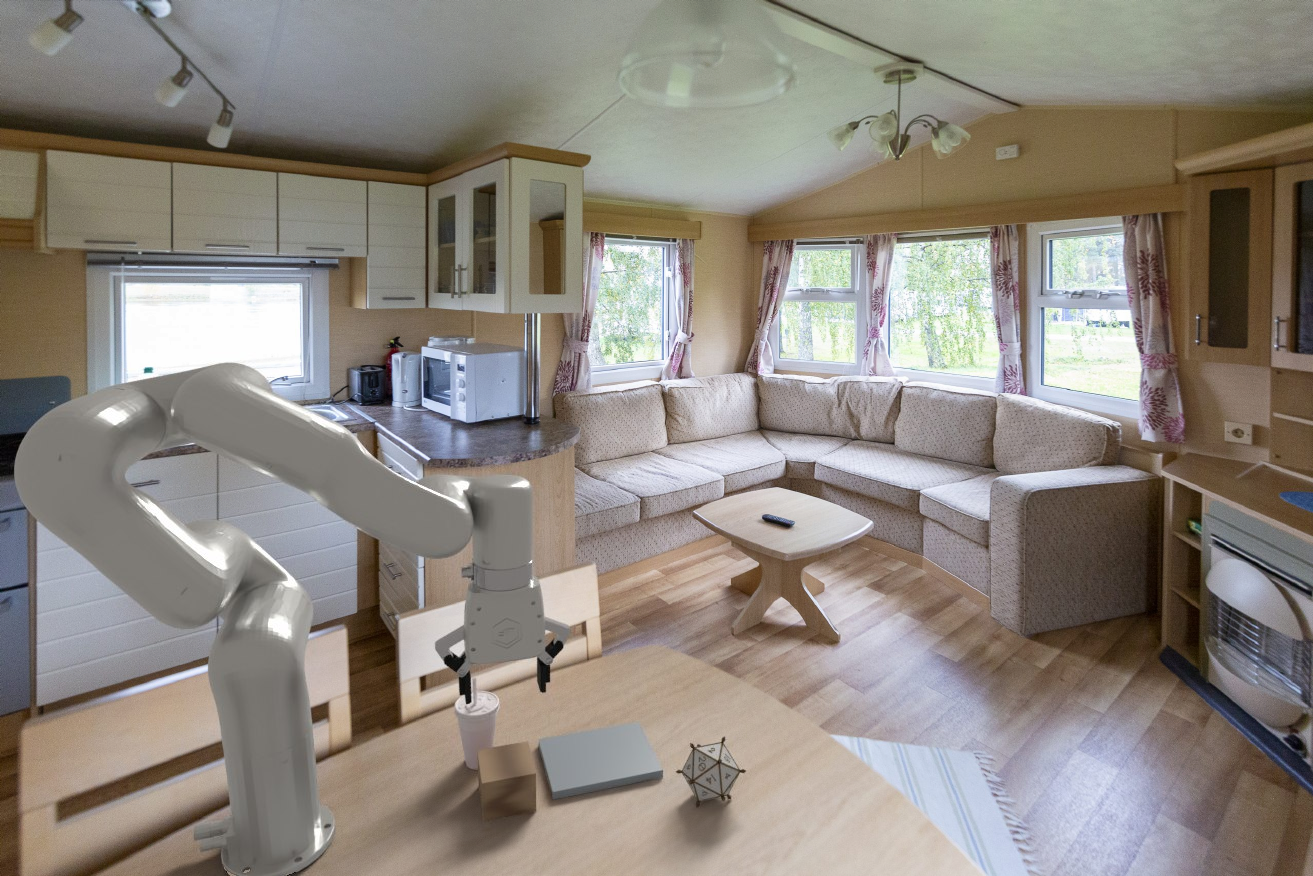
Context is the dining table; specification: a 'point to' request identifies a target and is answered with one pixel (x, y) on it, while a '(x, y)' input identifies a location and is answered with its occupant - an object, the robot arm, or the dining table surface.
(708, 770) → the game die
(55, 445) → the robot arm
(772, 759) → the dining table surface
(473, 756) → the smoothie
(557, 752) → the plate
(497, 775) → the walnut block
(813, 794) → the dining table surface
